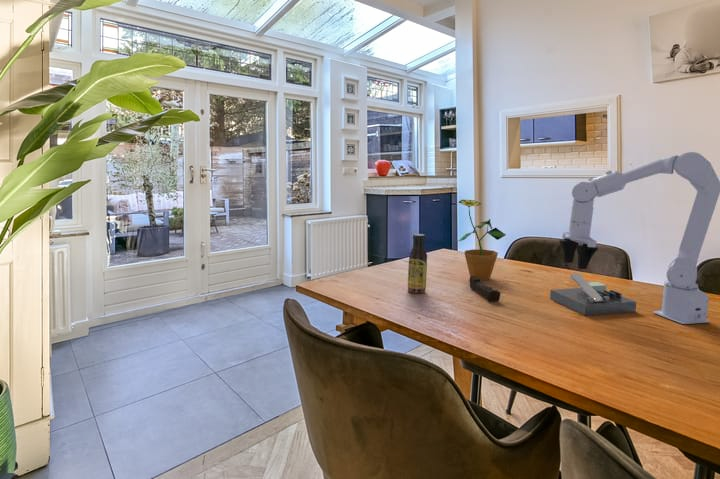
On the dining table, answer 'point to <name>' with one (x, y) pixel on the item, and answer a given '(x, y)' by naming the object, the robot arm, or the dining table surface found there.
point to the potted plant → (481, 259)
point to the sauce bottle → (417, 265)
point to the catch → (597, 286)
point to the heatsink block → (586, 304)
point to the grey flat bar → (586, 287)
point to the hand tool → (484, 289)
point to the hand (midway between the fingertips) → (575, 265)
